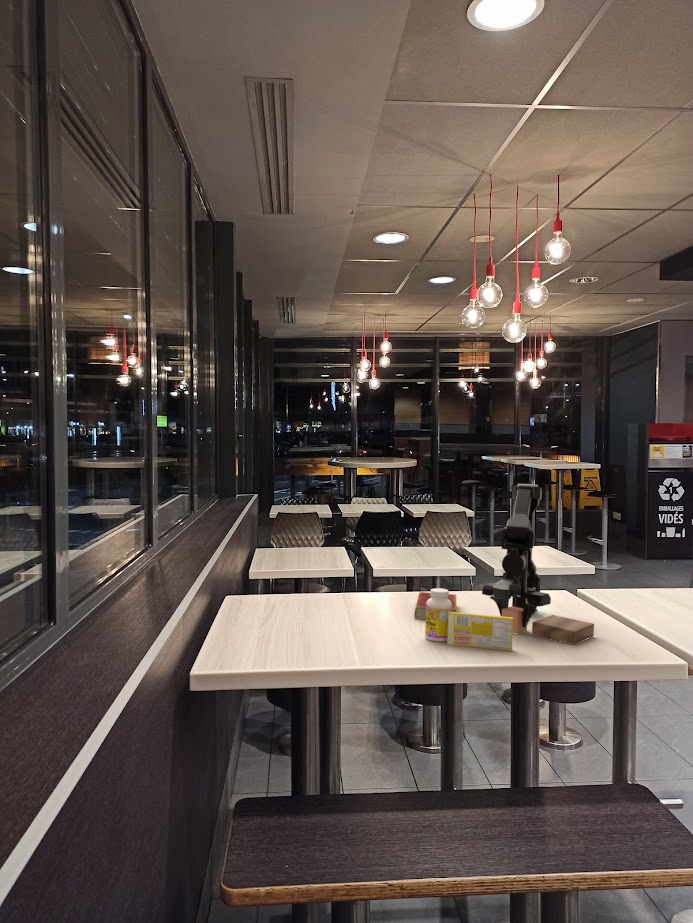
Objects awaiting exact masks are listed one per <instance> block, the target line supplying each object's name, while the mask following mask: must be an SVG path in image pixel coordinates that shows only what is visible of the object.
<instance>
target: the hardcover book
mask: <svg viewBox="0 0 693 923" xmlns="http://www.w3.org/2000/svg"><path fill="white" fill-rule="evenodd" d="M430 593H431V592H426V591H425V592H423V591H419V593H418V597H417V601H416V605H415V609H414V619H419V620H426V603H427V600H428V599H430V598H431V594H430ZM448 600H450V601H451V603H452V612H457V594H455V593H449V595H448Z"/></svg>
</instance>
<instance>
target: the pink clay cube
mask: <svg viewBox="0 0 693 923" xmlns="http://www.w3.org/2000/svg"><path fill="white" fill-rule="evenodd" d="M502 616H503V617H513V634H515V633H516V635H518V633H519V634H522V633H525V632H527V631H528V625H527V626H526V627H525V628H523V609H522V608H518V607H513V606H512V605H511V606H508V607H507V608H503V609H502ZM524 631H525V632H524ZM521 632H522V633H521Z"/></svg>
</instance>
